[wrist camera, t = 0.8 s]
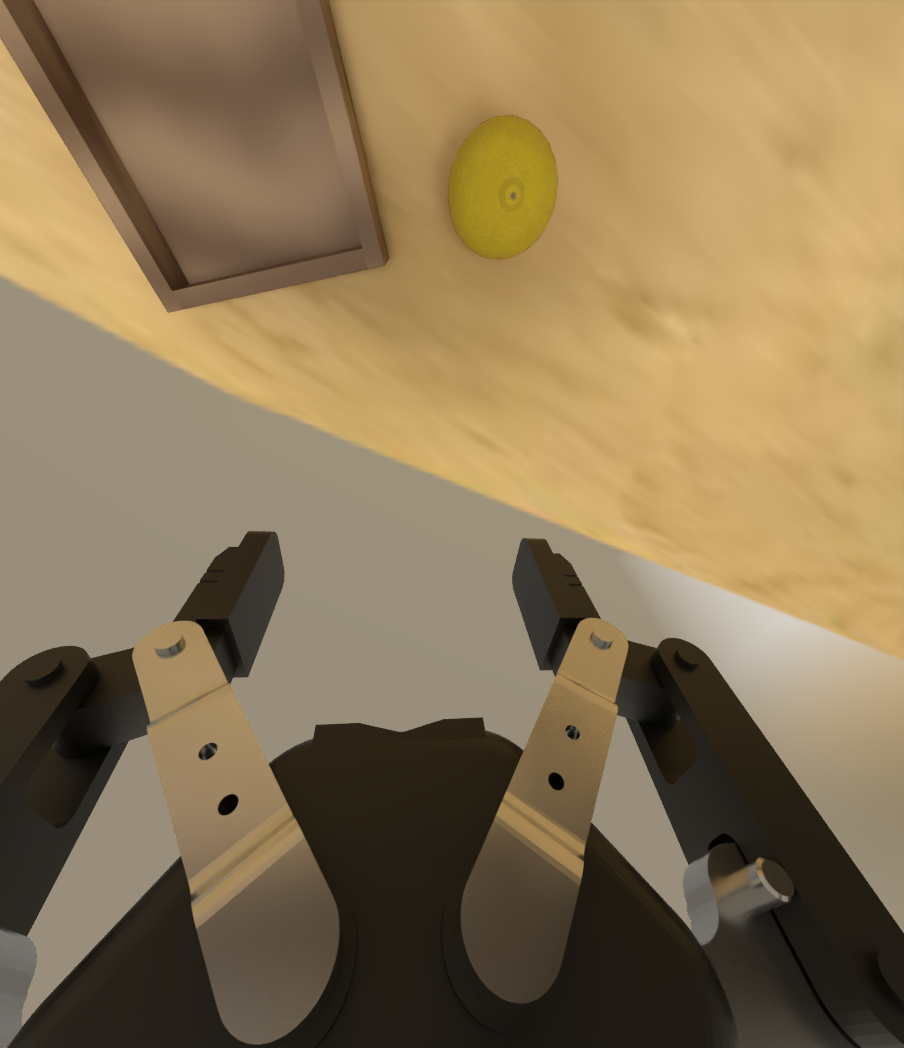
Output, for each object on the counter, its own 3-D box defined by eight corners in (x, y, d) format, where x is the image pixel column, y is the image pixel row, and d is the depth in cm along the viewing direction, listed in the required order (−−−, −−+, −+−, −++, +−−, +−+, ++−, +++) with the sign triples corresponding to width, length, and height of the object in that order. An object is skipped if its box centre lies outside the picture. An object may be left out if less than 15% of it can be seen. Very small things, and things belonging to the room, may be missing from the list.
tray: (-119, -248, 14) (-226, -332, 12) (236, -389, 12) (193, -515, 10) (191, 301, 26) (168, 312, 23) (388, 258, 24) (384, 265, 22)
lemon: (436, 234, 24) (437, 249, 18) (461, 109, 20) (472, 75, 14) (517, 262, 25) (543, 285, 19) (554, 148, 21) (601, 132, 15)
